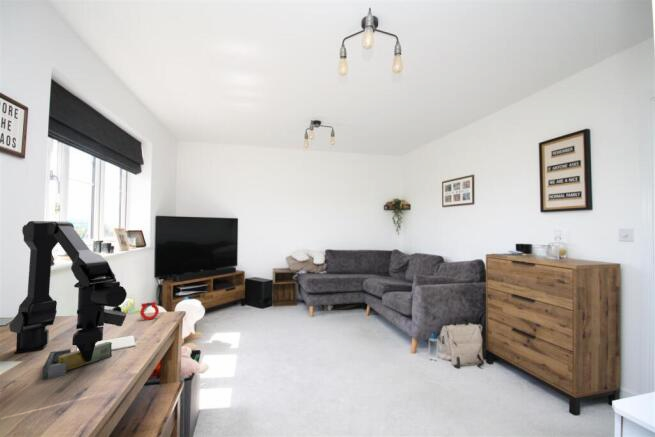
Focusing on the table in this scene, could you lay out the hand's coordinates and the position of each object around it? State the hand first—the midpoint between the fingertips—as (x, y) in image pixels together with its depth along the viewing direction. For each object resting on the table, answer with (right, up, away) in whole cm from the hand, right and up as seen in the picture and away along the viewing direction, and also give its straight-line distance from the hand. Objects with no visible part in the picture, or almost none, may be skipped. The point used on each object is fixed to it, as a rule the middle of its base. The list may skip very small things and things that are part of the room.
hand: (88, 358), depth 84 cm
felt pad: (-3, -1, +11) cm, 12 cm away
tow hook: (-8, -5, +41) cm, 42 cm away
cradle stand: (-6, -1, -4) cm, 7 cm away
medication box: (0, -1, -1) cm, 2 cm away
